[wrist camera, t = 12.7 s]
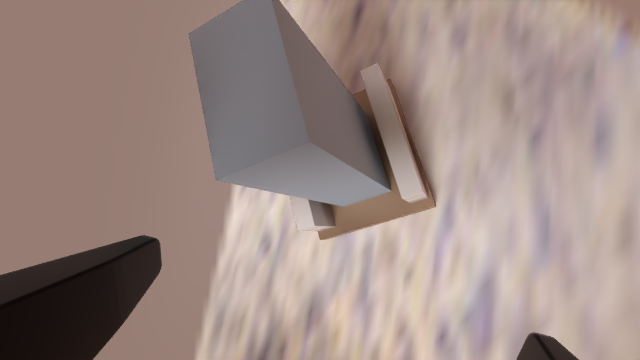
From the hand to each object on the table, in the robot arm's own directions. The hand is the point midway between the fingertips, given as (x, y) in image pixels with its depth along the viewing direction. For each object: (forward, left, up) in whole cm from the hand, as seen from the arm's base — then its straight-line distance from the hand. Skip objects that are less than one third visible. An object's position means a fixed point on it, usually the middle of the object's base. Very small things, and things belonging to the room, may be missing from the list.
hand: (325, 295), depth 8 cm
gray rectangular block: (+6, 0, -11) cm, 13 cm away
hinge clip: (+6, 0, -12) cm, 14 cm away
